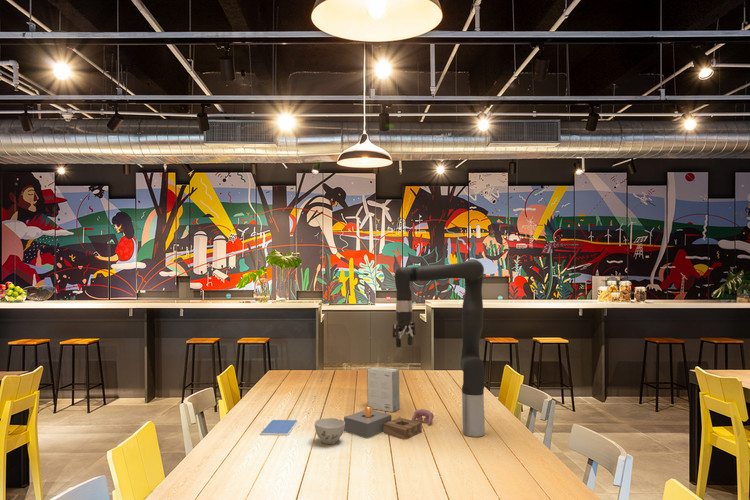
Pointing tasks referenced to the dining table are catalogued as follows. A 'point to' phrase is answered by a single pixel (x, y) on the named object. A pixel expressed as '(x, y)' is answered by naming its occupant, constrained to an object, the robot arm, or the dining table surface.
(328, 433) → the teacup
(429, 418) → the video game controller
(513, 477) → the dining table surface
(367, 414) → the pin
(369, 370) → the hard drive box
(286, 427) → the blue book
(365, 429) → the dock socket
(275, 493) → the dining table surface
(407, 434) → the pin mount
